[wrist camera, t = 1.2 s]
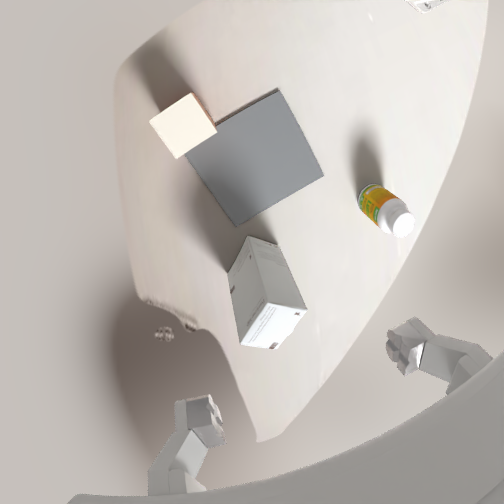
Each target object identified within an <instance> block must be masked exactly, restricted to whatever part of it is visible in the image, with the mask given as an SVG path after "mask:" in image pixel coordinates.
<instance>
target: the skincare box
mask: <svg viewBox="0 0 504 504" xmlns="http://www.w3.org/2000/svg"><path fill="white" fill-rule="evenodd" d="M228 281H229V287H230V293H231V298H232V304H233V309H234V315H235V320H236V325H237V331H238V336H239V342H240V344H241V345H246V346H253V347H261V348H269V349H277V348H278V347H279V345H280V344H281V343H282V341H283V340H284V339H285V338H286V337H287V336H288V335H289V334H290V333H291V332H292V331H293V330H294V327H295V325H296V324H297V322H298V321H299V320H300V319H301V317H302V316H303V315H304V314H305V312H306V311H307V307H306V305H305V303H304V301H303V299H302V296H301V294H300V292H299V290H298V287H297V285H296V283H295V281H294V278H293V276H292V274H291V272H290V269H289V267H288V265H287V263H286V260H285V258H284V256H283V254H282V251H281V249H280V247H279V246H278V245H275V244H272V243H269V242H266V241H263V240H261V239H258V238H255V237H252V236H249V235H248V236H247V237H246V239H245V242H244V244H243V246H242V248H241V251H240V253H239V255H238V256H237V258H236V260H235V262H234V264H233V266H232V267H231V269H230V270H229V272H228Z"/></svg>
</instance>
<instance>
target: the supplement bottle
mask: <svg viewBox="0 0 504 504" xmlns="http://www.w3.org/2000/svg"><path fill="white" fill-rule="evenodd" d="M358 204H359V208H360V209H361V211H362V212H363V213H364V214H365V215H367V216H368V217H369V218H370V219H371V220H372V221H373V222H374V223H375V224H376V225H377V226H378V227H379V228H381V229H382V230H383V231H384V232H387V233H393V234H394V235H395V236H396V237H405V236H406V235H408V234H409V233H410V232H411V231H412V229H413V227H414V223H415V219H414V216H413V214H411V213H410V212H409V211H408V208H407V206H406V204H405V203H404V202H403V201H402V200H401V199H399V198H398V197H396V196H395V195H393V194H392V193H391V192H389V191H388V190H386V189H385V188H383V187H382V186H380V185H378V184H370V185H368V186H366V187H365V188H364V189H363V190H362V191H361V193H360V195H359V198H358Z"/></svg>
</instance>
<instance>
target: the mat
mask: <svg viewBox="0 0 504 504" xmlns="http://www.w3.org/2000/svg"><path fill="white" fill-rule="evenodd" d="M216 129H217V133H216V134H214V135H212V136H211V137H209V138H208V139H206V140H205V141H203V142H201V143H200V144H198V145H197V146H195V147H194V148H192V149H191V150H189V151H188V152H186V153H185V154H184V155H185V156H186V157H187V159H188V160H189V162H190V163H191V164H192V166H193V167H194V169H195V170H196V172H197V173H198V174H199V176H200V177H201V179H202V180H203V181H204V183H205V184H206V186H207V187H208V188H209V190H210V191H211V193H212V194H213V195H214V197H215V198H216V200H217V201H218V202H219V204H220V205H221V207H222V208H223V210H224V211H225V212H226V214H227V215H228V217H229V218H230V219H231V221H232V222H233V224H234V225H235V226H236V227H237V226H239V225H240V224H242V223H244V222H245V221H247V220H249V219H250V218H252V217H254V216H255V215H257V214H259V213H261V212H262V211H264V210H266V209H267V208H269V207H271V206H272V205H274V204H276V203H278V202H279V201H281V200H283V199H284V198H286V197H288V196H290V195H291V194H293V193H295V192H296V191H298V190H300V189H302V188H303V187H305V186H307V185H309V184H310V183H312V182H314V181H316V180H317V179H319V178H321V177H323V176H324V175H323V172H322V170H321V168H320V166H319V164H318V162H317V160H316V158H315V156H314V154H313V152H312V150H311V148H310V146H309V144H308V142H307V140H306V138H305V136H304V134H303V132H302V130H301V128H300V126H299V124H298V123H297V121H296V119H295V117H294V115H293V113H292V111H291V110H290V108H289V106H288V104H287V102H286V101H285V99H284V97H283V95H282V94H281V92H280V91H277V92H275V93H273V94H272V95H270V96H268V97H266V98H264V99H262V100H260V101H258V102H257V103H255V104H253V105H251V106H249V107H248V108H246V109H244V110H242V111H241V112H239V113H237V114H235V115H234V116H232V117H230V118H229V119H227V120H225V121H224V122H222V123H220V124H219V125H217V126H216Z"/></svg>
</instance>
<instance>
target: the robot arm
mask: <svg viewBox="0 0 504 504" xmlns="http://www.w3.org/2000/svg"><path fill="white" fill-rule="evenodd" d="M404 1H406V2H408V3H409V4H410V5H411V6H413V7H414V8H415V9H416V10H417V11H418V12H420V13H426V12H429V11H430V10H432V9H434V8H436V7H438V6H440V5H442V4H444V3H445V2H447V1H449V0H404ZM425 5H426V6H425ZM387 337H388V338H389V340H388V341H387V343H386V350H387V354H388V356H389V358H390V359H391V360H392V361H394V362H397V368H398V369H399V370H400V371H401V372H402V374H403V375H404V376H406V375H408V374H410V373H411V372H413V371H415V370H417V369H419V370H421V371H424V372H426V373H428V374H431V375H433V376H436V377H438V378H440V379H442V380H445V381H447V382H449V385H448V388H447V390H446V394H447V396H445V397H444V398H442V399H441V400H439V401H438V402H437V403H435V404H433V405H432V406H430V407H429V408H427V409H425V410H424V411H422V412H421V413H419V414H417V415H416V416H414V417H412V418H411V419H409V420H407V421H406V422H404V423H402V424H400V425H398V426H397V427H395V428H393V429H391V430H389V431H387V432H385V433H384V434H381V435H379V436H377V437H376V438H373V439H372V440H369V441H367V442H365V443H363V444H361V445H359V446H356V447H354V448H352V449H350V450H347V451H345V452H343V453H340V454H338V455H335V456H333V457H330V458H328V459H326V460H323V461H320V462H317V463H314V464H312V465H309V466H306V467H303V468H300V469H297V470H294V471H290V472H287V473H284V474H280V475H277V476H274V477H270V478H266V479H262V480H258V481H254V482H250V483H245V484H241V485H236V486H231V487H226V488H221V489H214V490H208V491H207V490H206V488H205V487H204V486H203V485H201V484H200V483H199V482H198V481H196V480H195V478H196V476H197V474H198V471H199V469H200V467H201V464H202V462H203V460H204V458H205V455H206V453H207V451H208V449H207V448H211V447H215V446H220V445H224V444H226V439H225V434H224V431H223V429H222V428H221V425H222V424H223V423H222V419H221V415H220V412H219V409H218V407H217V405H216V404H214V403H213V399H212V397H211V395H204V396H199V397H194V398H190V399H184V400H180V401H176V402H175V426H176V427H175V428H176V432H174V433H172V435H171V436H170V438H169V439H168V441H167V442H166V444H165V445H164V447H163V449H162V450H161V452H160V453H159V455H158V456H157V458H156V459H155V461H154V463H153V464H152V466H151V467H150V469H149V470H148V496H100V495H89V494H78V495H76V496H74V497H73V498H72V499H71V500H70V501H69V502H68V503H67V504H504V350H503V351H502V352H501V353H499V354H498V355H497V356H496V357H495V358H494V359H493V358H492V357H491V356H490V355H489V354H488V353H487V352H486V351H485V350H484V349H483V348H482V347H481V346H479V345H478V344H475V343H471V342H467V341H462V340H458V339H454V338H450V337H446V336H443V335H435V334H434V333H433V332H432V331H431V330H430V329H429V328H428V327H427V326H426V325H424V324H423V323H422V322H421V321H420V320H419V319H418V318H416V317H413V318H412V319H409V320H408V321H406V322H403V323H401V324H399V325H397V326H395V327H393V328H391V329H389V330H388V332H387Z"/></svg>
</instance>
